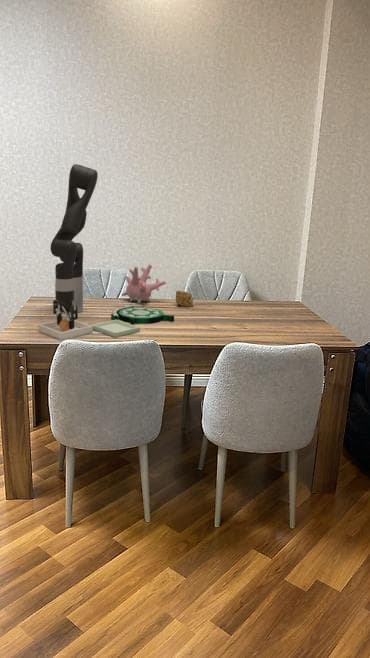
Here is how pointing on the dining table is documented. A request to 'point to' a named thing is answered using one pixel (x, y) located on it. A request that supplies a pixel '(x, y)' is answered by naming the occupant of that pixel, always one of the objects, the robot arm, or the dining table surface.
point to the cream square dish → (59, 334)
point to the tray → (115, 328)
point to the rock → (184, 299)
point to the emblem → (140, 315)
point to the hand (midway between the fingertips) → (65, 326)
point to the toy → (140, 285)
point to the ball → (64, 325)
